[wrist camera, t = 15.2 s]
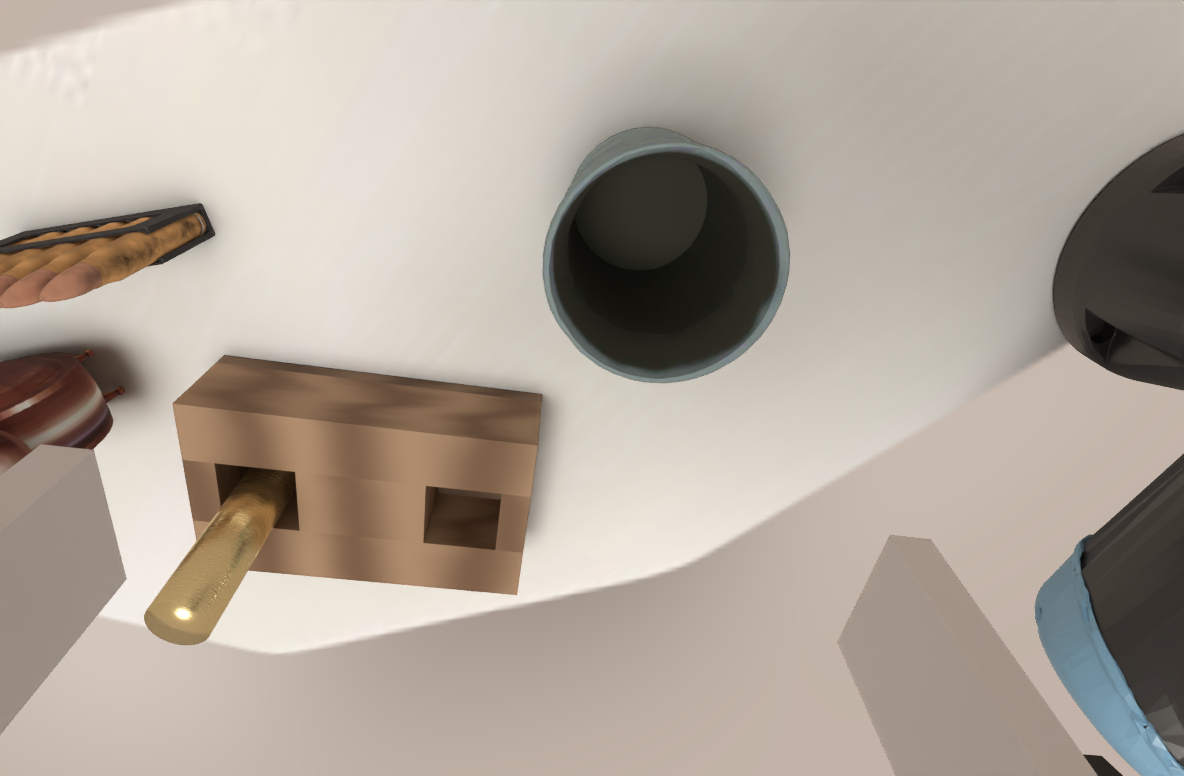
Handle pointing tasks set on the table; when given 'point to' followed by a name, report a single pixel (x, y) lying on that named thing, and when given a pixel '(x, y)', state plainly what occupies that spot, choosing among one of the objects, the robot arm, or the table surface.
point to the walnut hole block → (369, 470)
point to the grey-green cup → (664, 257)
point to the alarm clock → (50, 405)
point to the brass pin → (220, 558)
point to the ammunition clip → (94, 253)
